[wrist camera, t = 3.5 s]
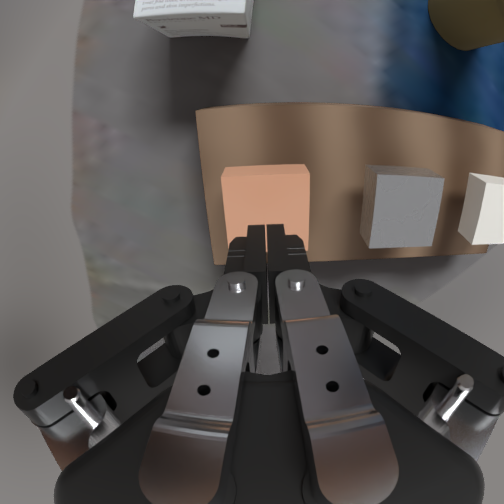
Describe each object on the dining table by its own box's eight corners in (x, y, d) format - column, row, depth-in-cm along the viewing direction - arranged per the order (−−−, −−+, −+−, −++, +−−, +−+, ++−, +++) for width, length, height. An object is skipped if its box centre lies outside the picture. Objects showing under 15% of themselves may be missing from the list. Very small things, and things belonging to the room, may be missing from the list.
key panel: (482, 124, 18) (510, 134, 15) (465, 232, 24) (486, 253, 21) (206, 107, 20) (195, 110, 16) (220, 239, 25) (214, 264, 22)
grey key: (428, 168, 15) (444, 178, 14) (418, 231, 18) (431, 246, 16) (365, 164, 16) (377, 174, 14) (359, 232, 18) (368, 248, 16)
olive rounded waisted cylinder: (455, -17, 12) (536, -38, 2) (489, 40, 14) (577, 44, 4) (414, -1, 14) (499, -32, 4) (453, 60, 16) (548, 66, 6)
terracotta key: (304, 164, 16) (309, 173, 14) (303, 234, 18) (308, 250, 16) (225, 167, 16) (220, 177, 14) (232, 236, 18) (228, 253, 17)
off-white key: (507, 178, 15) (524, 188, 13) (495, 230, 17) (509, 243, 16) (469, 172, 15) (486, 182, 14) (457, 230, 17) (471, 244, 16)
